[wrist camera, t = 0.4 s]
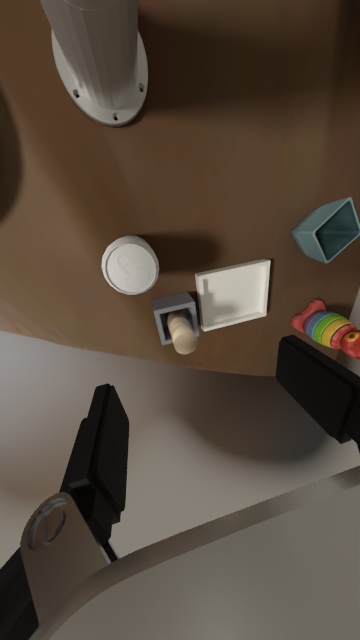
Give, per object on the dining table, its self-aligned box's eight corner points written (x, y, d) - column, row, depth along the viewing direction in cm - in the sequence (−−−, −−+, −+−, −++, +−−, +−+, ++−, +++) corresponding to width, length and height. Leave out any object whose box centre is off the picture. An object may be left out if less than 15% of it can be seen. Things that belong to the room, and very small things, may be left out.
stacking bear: (317, 295, 54) (390, 323, 39) (328, 315, 59) (396, 346, 43) (288, 320, 56) (346, 356, 41) (300, 338, 61) (357, 375, 45)
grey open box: (151, 299, 44) (153, 311, 38) (187, 291, 45) (194, 301, 39) (159, 330, 48) (162, 345, 42) (191, 322, 49) (199, 336, 43)
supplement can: (160, 259, 40) (171, 275, 27) (131, 282, 41) (128, 308, 28) (134, 225, 36) (134, 224, 23) (103, 251, 37) (86, 265, 24)
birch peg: (162, 307, 44) (172, 337, 32) (180, 303, 45) (196, 331, 33) (166, 322, 47) (176, 356, 34) (182, 318, 47) (199, 350, 35)
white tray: (194, 273, 43) (198, 276, 41) (264, 258, 45) (270, 260, 43) (201, 327, 50) (204, 331, 48) (260, 312, 52) (265, 315, 50)
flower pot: (280, 231, 43) (312, 232, 35) (311, 201, 41) (351, 195, 34) (295, 258, 47) (326, 264, 39) (323, 231, 45) (362, 232, 38)
